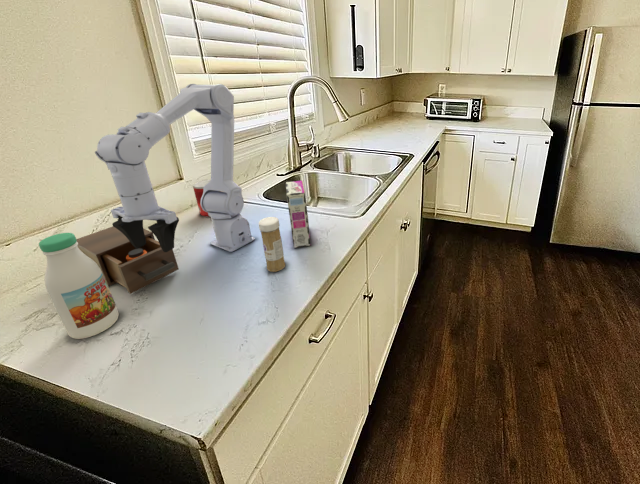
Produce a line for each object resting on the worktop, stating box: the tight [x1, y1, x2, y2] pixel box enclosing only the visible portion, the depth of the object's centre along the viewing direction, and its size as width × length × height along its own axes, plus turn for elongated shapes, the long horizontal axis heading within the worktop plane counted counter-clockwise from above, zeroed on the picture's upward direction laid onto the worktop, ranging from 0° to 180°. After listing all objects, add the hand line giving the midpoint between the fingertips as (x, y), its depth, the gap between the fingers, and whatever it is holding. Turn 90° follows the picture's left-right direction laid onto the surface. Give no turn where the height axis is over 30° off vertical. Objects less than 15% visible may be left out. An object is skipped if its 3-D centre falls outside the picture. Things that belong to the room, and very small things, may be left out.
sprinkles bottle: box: [258, 216, 286, 273], centre depth 81 cm, size 5×5×14 cm
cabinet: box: [76, 226, 156, 287], centre depth 83 cm, size 13×12×9 cm
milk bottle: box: [38, 232, 120, 340], centre depth 62 cm, size 8×8×20 cm
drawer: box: [100, 237, 180, 295], centre depth 78 cm, size 16×10×7 cm, turn 62°
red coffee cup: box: [192, 178, 221, 218], centre depth 112 cm, size 8×8×11 cm
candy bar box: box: [285, 180, 312, 249], centre depth 94 cm, size 11×5×16 cm, turn 19°
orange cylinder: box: [126, 249, 147, 262], centre depth 78 cm, size 4×4×6 cm
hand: (154, 248), depth 73 cm, fingers open, 7 cm apart
